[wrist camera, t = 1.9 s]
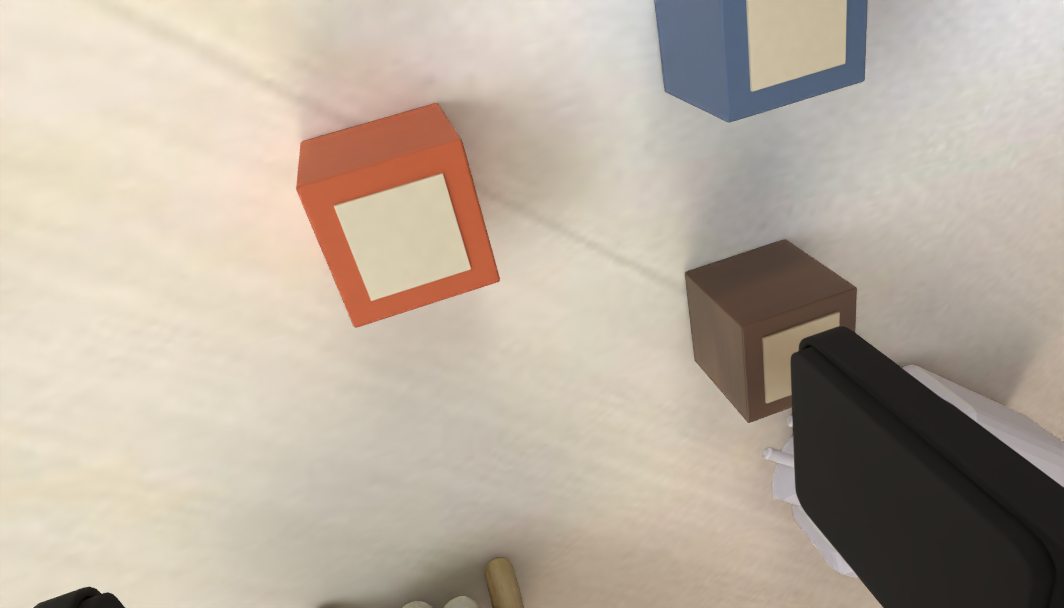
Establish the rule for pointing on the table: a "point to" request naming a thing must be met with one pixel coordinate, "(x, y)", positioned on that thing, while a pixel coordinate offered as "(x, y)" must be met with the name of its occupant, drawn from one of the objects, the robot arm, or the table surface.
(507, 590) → the toy sheep
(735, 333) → the walnut block
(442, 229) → the terracotta block
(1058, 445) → the charger
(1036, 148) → the table surface
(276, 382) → the table surface
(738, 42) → the slate block
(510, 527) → the table surface
